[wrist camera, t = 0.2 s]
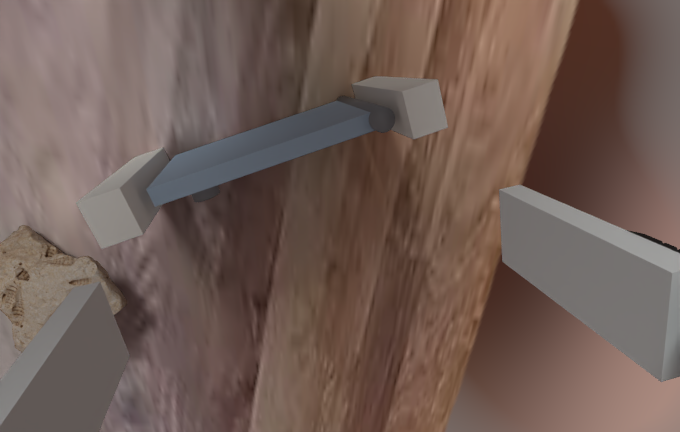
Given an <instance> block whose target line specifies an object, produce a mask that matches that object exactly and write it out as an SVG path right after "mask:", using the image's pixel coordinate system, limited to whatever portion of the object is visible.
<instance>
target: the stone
mask: <svg viewBox="0 0 680 432" xmlns="http://www.w3.org/2000/svg"><path fill="white" fill-rule="evenodd" d="M96 282H101V285H102V287H103V290H104V292H105V295H106V297H107V300H108V302H109V305H110V307H111V310H112V312H113V315H116V314H117V313H118V312H119V311H120V310H121V309H122V308H123V307H124V306H126V305H127V301H126V299H125V298H124V296H123V294H122V292H121V291H120V290H119V289H118V288H117V287H116V285H115V284H114V283H113V282H112V281H111V279H110V278H109V276H108V273H107V271H106V270H105V269H104V268H103V267H102V266H101V265H100V263H98V262H97V261H95V260H94V259H93V258H91V257H89V256H83V257H79V258H78V259H76V258H75V257H72V256H69V255H65V254H64V253H63V252H62V251H61V250H59V249H58V248H57V247H55V246H54V245H52V244H50V243H48V242H47V241H46V240H45V239H44V238H43V237H42V236H40V235H39V234H37V233H36V232H35V231H34V230H32V229H31V228H30V227H29V226H26V225H22V226H20V227H19V229H18V230H17V231H15V232H13V233H12V234H11V235H10V236H9V237H8V238H7V239H5V240H4V241H3V242H1V243H0V310H1V311H2V312H3V313H4V314H5V315H6V316H7V317H8V318H9V319H10V321H11V322H12V324H13V329H12V330H13V339H14V342H15V348H16V349H18V350H19V351H21V353H22V352H23V351H24V350H25V348H26V347H27V346H28V345H29V343H30V342H31V341H32V340H33V338H34V337H35V336H36V335H37V333H38V332H39V331H40V330H41V328H42V327H43V326H44V325H45V323H46V322H47V321H48V320H49V318H50V317H51V316H52V314H53V313H54V312H55V311H56V309H57V308H58V307H59V306H60V304H61V303H62V302H63V301H64V299H65V298H66V297H67V296H68V294H69V293H70V292H71V291H72V289H73V288H74V287H78V286H83V285H87V284H91V283H96Z"/></svg>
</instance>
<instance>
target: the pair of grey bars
mask: <svg viewBox="0 0 680 432" xmlns="http://www.w3.org/2000/svg"><path fill="white" fill-rule="evenodd" d="M351 85H352V88H353V92H354V95H355V99H358V100H362V101H365V102H369V103H373V104H376V105H380V106H384V107H387V108H390V109H391V110H392V111H393V112H394V114H395V124H394V126H393V127H392V129H391V130H393V131H395V132H397V133H400V134H402V135H404V136H407V137H409V138H412V139H417V138H420V137H422V136H425V135H428V134H431V133H434V132H437V131H439V130H442V129H445V128H448V125H447V121H446V116H445V111H444V106H443V102H442V97H441V92H440V88H439V83H438V79H420V78H401V77H382V76H374V77H371V78H368V79H365V80H363V81H360V82H357V83H354V84H351ZM169 162H170V160H169V158H168V156H167V154H166V151H165V149H164V147H163V148H160V149H157V150H154V151H151V152H148V153H145V154H142V155H139V156H136V157H134V158H133V159H132V160H130V161H129V162H128V163H127V164H125V165H124V166H123V167H121V168H120V169H119V170H118V171H116V172H115V173H114V174H112V175H111V176H110V177H108V178H107V179H106V180H105V181H103V182H102V183H101V184H99V185H98V186H97V187H96V188H94V189H93V190H92V191H90V192H89V193H88V194H87V195H85V196H84V197H83V198H81V199H80V200H79V201H77V202H76V204H77V206H78V208H79V210H80V211H81V213H82V215H83V217H84V219H85V220H86V222H87V224H88V226H89V228H90V229H91V231H92V233H93V235H94V237H95V238H96V240H97V242H98V244H99V246H100V247H101V249H103V248H106V247H109V246H112V245H115V244H118V243H120V242H123V241H126V240H129V239H132V238H135V237H138V236H140V235H143V234H144V233H145V231H146V229H147V228H148V226H149V225H150V223H151V222H152V220H153V218H154V217H155V215H156V214H157V212H158V211H159V209H160V207H161V206H162V205H159V206H156V207H155V206H154V204H153V202H152V200H151V198H150V196H149V194H148V192H147V190H146V189H147V188H148V187H149V186H150V184H151V183H152V182H153V181H154V180H155V179H156V177H157V176H158V175H159V174H160V173H161V171H162V170H163V169H164V168H165V167H166V166H167V164H168V163H169Z"/></svg>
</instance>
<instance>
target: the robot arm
mask: <svg viewBox="0 0 680 432" xmlns="http://www.w3.org/2000/svg"><path fill="white" fill-rule="evenodd" d="M499 197H500V219H501V241H502V261H503V262H504V263H505V264H507V265H508V266H509V267H510V268H512V269H513V270H514V271H516V272H517V273H518V274H520V275H521V276H522V277H524V278H525V279H526V280H527V281H529V282H530V283H532V284H533V285H534V286H536V287H537V288H538V289H539V290H541V291H542V292H543V293H545V294H546V295H547V296H549V297H550V298H551V299H553V300H554V301H555V302H556V303H558V304H559V305H560V306H562V307H563V308H564V309H566V310H567V311H568V312H570V313H571V314H572V315H574V316H575V317H576V318H578V319H579V320H580V321H582V322H583V323H584V324H585V325H587V326H588V327H589V328H591V329H592V330H593V331H595V332H596V333H597V334H599V335H600V336H601V337H603V338H604V339H605V340H606V341H608V342H609V343H610V344H612V345H613V346H614V347H616V348H617V349H618V350H620V351H621V352H622V353H624V354H625V355H626V356H628V357H629V358H630V359H632V360H633V361H634V362H636V363H637V364H638V365H640V366H641V367H642V368H643V369H645V370H646V371H647V372H649V373H650V374H651V375H653V376H654V377H655V378H657V379H658V380H659V381H661V382H663V381H666V380H669V379H673V378H676V377H679V376H680V249H679V250H677V248H676V247H674V246H672V245H669V244H667V243H664V244H663V243H662V241H660V240H657V239H655V238H652V237H650V236H647V235H645V234H641V233H637V232H632V231H628V230H624V229H622V228H620V227H617V226H615V225H612V224H610V223H608V222H605V221H603V220H601V219H599V218H596V217H594V216H592V215H589V214H587V213H585V212H582V211H580V210H577V209H575V208H573V207H571V206H568V205H566V204H564V203H561V202H559V201H557V200H554V199H552V198H550V197H547V196H545V195H543V194H540V193H538V192H536V191H533V190H531V189H528V188H526V187H524V186H522V185H516V186H512V187H508V188H503V189H499ZM129 357H130V355H129V352H128V350H127V347H126V345H125V342H124V340H123V337H122V335H121V332H120V330H119V327H118V325H117V322H116V320H115V317H114V315H113V312H112V310H111V307H110V305H109V302H108V300H107V297H106V295H105V292H104V290H103V287H102V285H101V282H96V283H91V284H87V285H83V286H78V287H74V288H73V289H72V291H71V292H70V293H69V294H68V296H67V297H66V298H65V299H64V301H63V302H62V303H61V304H60V306H59V307H58V308H57V309H56V311H55V312H54V313H53V314H52V316H51V317H50V318H49V320H48V321H47V322H46V323H45V325H44V326H43V327H42V328H41V330H40V331H39V332H38V333H37V335H36V336H35V337H34V338H33V340H32V341H31V342H30V343H29V345H28V346H27V347H26V348H25V350H24V351H23V352H22V354H21V355H20V356H19V357H18V359H17V360H16V361H15V362H14V364H13V365H12V366H11V367H10V369H9V370H8V371H7V372H6V374H5V375H4V376H3V377H2V379H1V380H0V432H99V430H100V428H101V425H102V423H103V420H104V418H105V415H106V413H107V411H108V408H109V406H110V403H111V401H112V398H113V396H114V394H115V391H116V389H117V386H118V384H119V381H120V379H121V376H122V374H123V372H124V369H125V367H126V364H127V362H128V359H129Z"/></svg>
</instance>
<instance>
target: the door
mask: <svg viewBox="0 0 680 432" xmlns="http://www.w3.org/2000/svg"><path fill="white" fill-rule="evenodd" d="M394 124H395V114H394V112H393V111H392V110H391V109H390V108H387V107H384V106H380V105H376V104H373V103H369V102H365V101H362V100H358V99H355V98H351V97H347V96H340V97H339V98H337V100H336V101H334V102H331V103H328V104H326V105H323V106H320V107H317V108H314V109H311V110H308V111H305V112H302V113H299V114H296V115H293V116H290V117H287V118H284V119H281V120H278V121H275V122H272V123H269V124H266V125H263V126H260V127H258V128H255V129H252V130H249V131H246V132H243V133H240V134H237V135H234V136H231V137H228V138H225V139H222V140H219V141H216V142H213V143H210V144H207V145H204V146H201V147H198V148H195V149H192V150H189V151H187V152H184V153H181V154H178V155H175V156H174V157H173V159H172V160H171V161H170V162H169V163H168V164H167V166H166V167H165V168H164V169H163V170H162V171H161V173H160V174H159V175H158V176H157V177H156V179H155V180H154V181H153V182H152V183H151V184H150V186H149V187H148V188H147V189H146V190H147V192H148V194H149V196H150V198H151V200H152V202H153V204H154V206H155V207H156V206H159V205H162V204H165V203H168V202H170V201H173V200H176V199H179V198H182V197H185V196H188V195H192V197H193V200H194V202H201V201H205V200H208V199H210V198H212V197H214V196H216V195H218V194H219V193H220V190H219V187H218V185H219V184H222V183H225V182H228V181H231V180H234V179H237V178H240V177H243V176H245V175H248V174H251V173H254V172H257V171H260V170H263V169H266V168H269V167H271V166H274V165H277V164H280V163H283V162H286V161H289V160H292V159H294V158H297V157H300V156H303V155H306V154H309V153H312V152H315V151H318V150H320V149H323V148H326V147H329V146H332V145H335V144H338V143H341V142H344V141H346V140H349V139H352V138H355V137H358V136H361V135H364V134H367V133H369V132H372V131H375V130H376V131H378V132H381V133H384V132H388V131H389V130H391V129H392V127H393V126H394Z"/></svg>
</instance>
